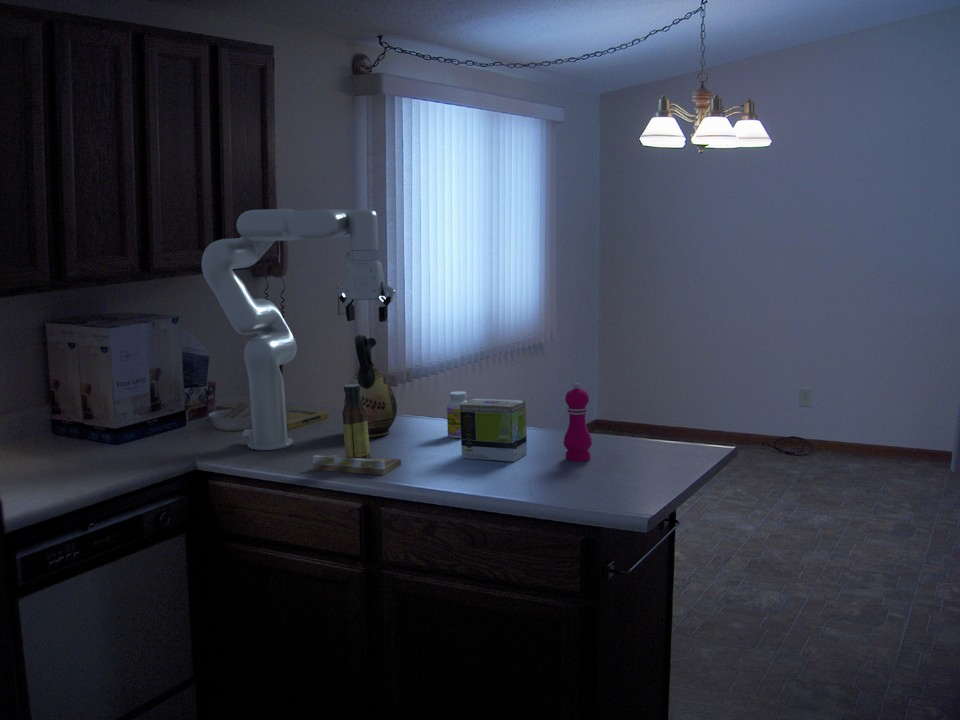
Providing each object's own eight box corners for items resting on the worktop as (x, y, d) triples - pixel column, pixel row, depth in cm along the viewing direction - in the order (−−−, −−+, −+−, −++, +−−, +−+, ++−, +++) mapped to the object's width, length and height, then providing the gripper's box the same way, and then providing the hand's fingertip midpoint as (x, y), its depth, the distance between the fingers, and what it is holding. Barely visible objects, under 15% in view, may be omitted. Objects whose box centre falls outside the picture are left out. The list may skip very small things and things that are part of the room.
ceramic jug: (352, 429, 303) (348, 330, 299) (402, 429, 301) (398, 329, 296) (337, 442, 286) (331, 338, 282) (390, 442, 284) (385, 337, 280)
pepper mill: (560, 461, 257) (559, 384, 254) (568, 454, 264) (566, 379, 261) (588, 463, 255) (587, 385, 252) (594, 456, 261) (593, 380, 258)
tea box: (527, 454, 266) (526, 399, 264) (513, 463, 257) (511, 406, 255) (476, 450, 272) (474, 396, 270) (460, 458, 263) (458, 403, 261)
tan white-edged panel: (313, 469, 256) (312, 456, 256) (333, 460, 266) (332, 447, 265) (383, 475, 249) (382, 461, 248) (401, 465, 258) (400, 451, 258)
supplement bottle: (443, 437, 288) (441, 393, 286) (457, 433, 293) (455, 389, 291) (461, 440, 284) (459, 395, 282) (475, 435, 289) (474, 391, 287)
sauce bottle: (373, 458, 260) (369, 382, 257) (366, 464, 254) (362, 387, 251) (349, 457, 261) (345, 382, 258) (341, 463, 255) (337, 387, 252)
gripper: (328, 257, 265) (331, 321, 268) (386, 257, 259) (389, 323, 262) (342, 256, 272) (345, 318, 275) (399, 255, 266) (402, 320, 268)
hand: (366, 320), depth 268 cm, fingers open, 9 cm apart
